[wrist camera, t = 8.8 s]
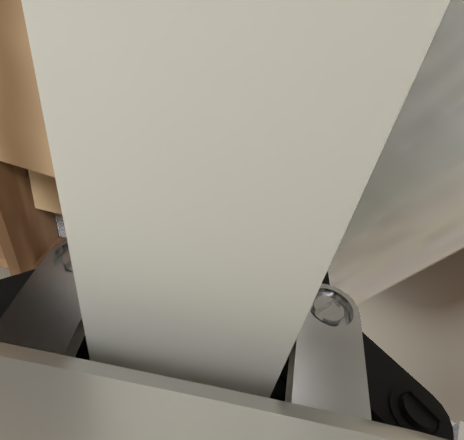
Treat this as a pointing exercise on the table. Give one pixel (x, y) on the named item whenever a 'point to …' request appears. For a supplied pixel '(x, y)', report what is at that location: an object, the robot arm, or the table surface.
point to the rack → (22, 223)
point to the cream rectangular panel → (215, 164)
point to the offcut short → (20, 96)
